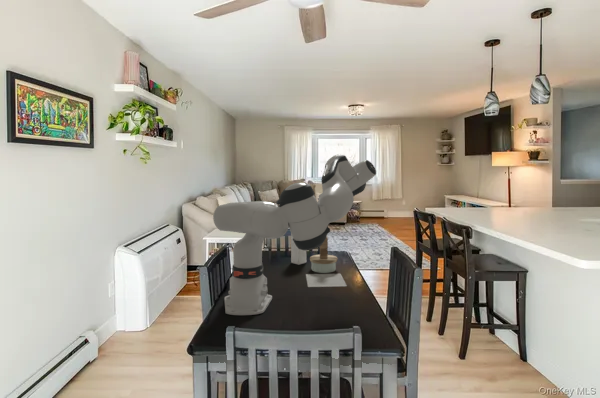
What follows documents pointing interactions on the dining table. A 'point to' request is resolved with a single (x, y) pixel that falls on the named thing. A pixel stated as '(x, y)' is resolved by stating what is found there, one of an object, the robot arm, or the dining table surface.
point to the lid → (324, 255)
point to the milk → (297, 254)
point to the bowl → (323, 267)
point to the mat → (325, 280)
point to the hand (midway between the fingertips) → (324, 196)
